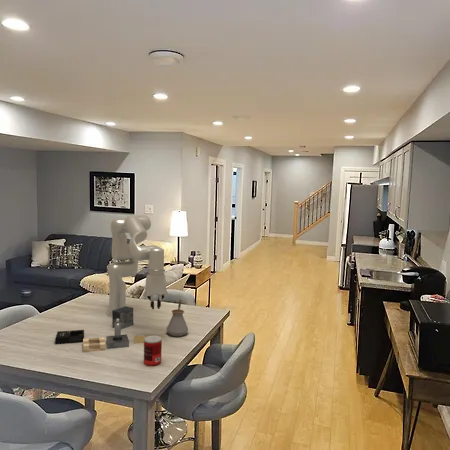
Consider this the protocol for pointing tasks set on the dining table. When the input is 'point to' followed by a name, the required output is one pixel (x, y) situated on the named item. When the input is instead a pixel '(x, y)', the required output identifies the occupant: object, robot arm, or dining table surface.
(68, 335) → the battery charger
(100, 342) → the frame
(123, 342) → the socket
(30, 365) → the dining table surface
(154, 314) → the dining table surface
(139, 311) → the dining table surface
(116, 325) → the clear plastic bottle
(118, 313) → the small box
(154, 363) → the canned food
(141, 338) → the yellow rectangular block
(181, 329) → the coffee pot
